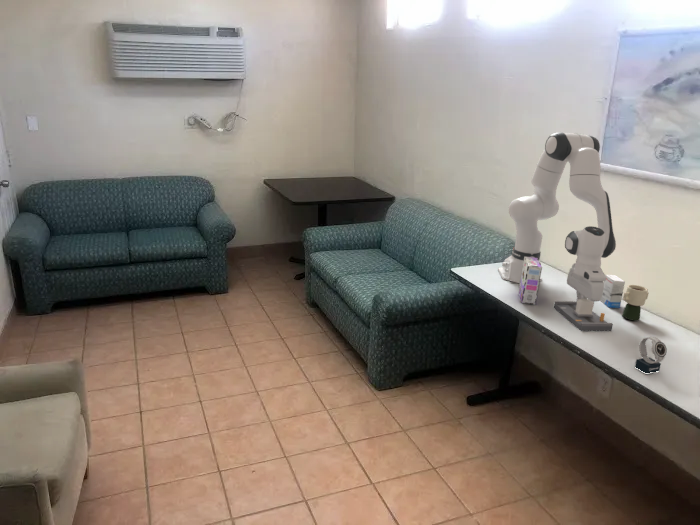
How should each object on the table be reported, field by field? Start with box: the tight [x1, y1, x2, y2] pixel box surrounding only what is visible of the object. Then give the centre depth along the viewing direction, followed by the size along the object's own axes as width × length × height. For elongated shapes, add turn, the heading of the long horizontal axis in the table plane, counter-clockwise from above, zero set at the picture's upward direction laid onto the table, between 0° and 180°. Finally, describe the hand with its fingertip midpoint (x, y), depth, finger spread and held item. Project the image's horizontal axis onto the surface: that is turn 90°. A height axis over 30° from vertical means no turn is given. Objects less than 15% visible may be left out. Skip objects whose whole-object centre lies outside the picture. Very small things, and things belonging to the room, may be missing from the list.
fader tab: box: [573, 298, 595, 317], centre depth 210 cm, size 4×6×6 cm, turn 96°
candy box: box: [518, 257, 543, 306], centre depth 228 cm, size 14×6×16 cm, turn 168°
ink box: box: [599, 274, 626, 309], centre depth 228 cm, size 9×5×12 cm, turn 0°
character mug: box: [622, 284, 649, 322], centre depth 214 cm, size 11×7×13 cm, turn 104°
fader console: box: [553, 300, 614, 332], centre depth 212 cm, size 22×12×5 cm, turn 6°
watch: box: [634, 336, 668, 373], centre depth 173 cm, size 6×8×11 cm
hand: (580, 303), depth 214 cm, fingers closed
